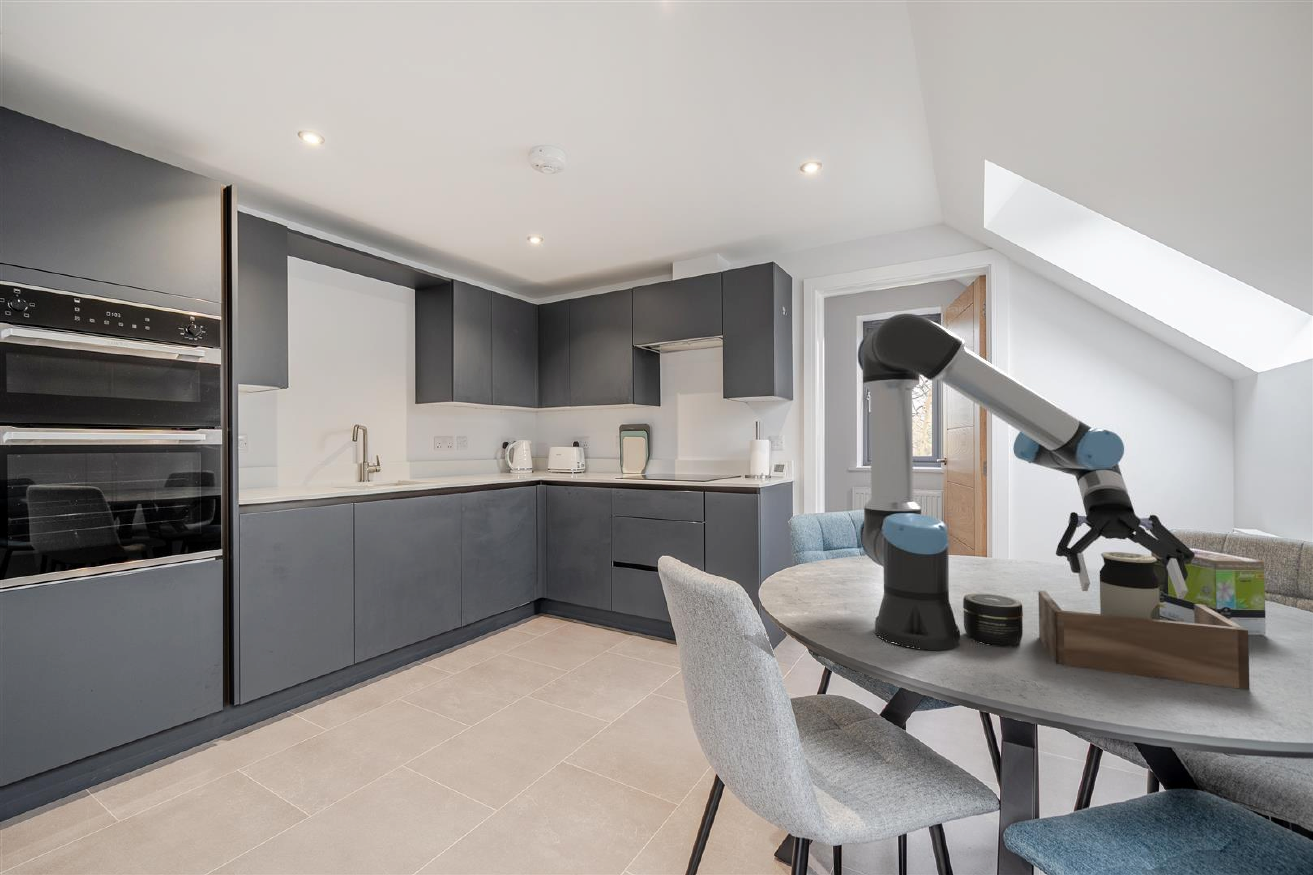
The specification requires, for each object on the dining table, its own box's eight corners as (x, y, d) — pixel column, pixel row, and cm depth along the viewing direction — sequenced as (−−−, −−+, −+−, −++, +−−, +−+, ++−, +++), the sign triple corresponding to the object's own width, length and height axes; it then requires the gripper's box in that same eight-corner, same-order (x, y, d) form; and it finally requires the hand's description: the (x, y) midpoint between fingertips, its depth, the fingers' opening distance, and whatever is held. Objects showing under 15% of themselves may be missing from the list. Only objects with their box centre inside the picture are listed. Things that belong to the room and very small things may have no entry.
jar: (964, 627, 116) (963, 590, 116) (1022, 635, 111) (1021, 596, 111) (962, 642, 107) (961, 602, 107) (1024, 651, 102) (1024, 609, 102)
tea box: (1269, 636, 109) (1267, 560, 109) (1216, 636, 109) (1214, 560, 110) (1196, 613, 124) (1194, 546, 125) (1150, 613, 124) (1148, 546, 125)
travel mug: (1090, 654, 100) (1088, 553, 101) (1119, 648, 103) (1117, 550, 104) (1142, 670, 93) (1140, 561, 93) (1171, 663, 96) (1169, 558, 96)
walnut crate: (1039, 636, 110) (1038, 590, 110) (1204, 655, 99) (1203, 604, 99) (1056, 664, 96) (1055, 611, 96) (1249, 689, 85) (1248, 630, 86)
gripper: (1179, 512, 111) (1219, 609, 97) (1029, 507, 121) (1046, 594, 107) (1191, 487, 106) (1234, 586, 92) (1034, 484, 116) (1051, 573, 103)
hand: (1133, 591), depth 100 cm, fingers open, 13 cm apart
